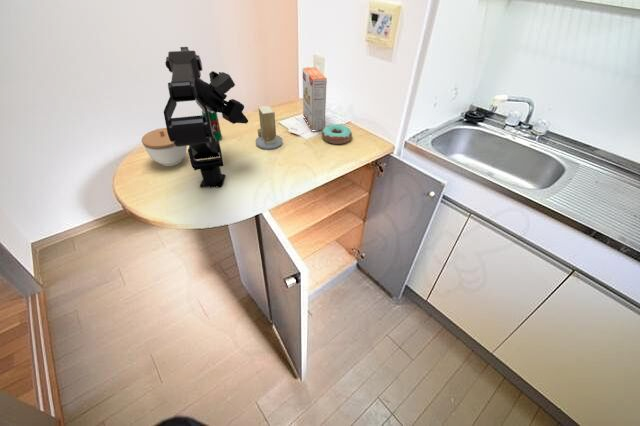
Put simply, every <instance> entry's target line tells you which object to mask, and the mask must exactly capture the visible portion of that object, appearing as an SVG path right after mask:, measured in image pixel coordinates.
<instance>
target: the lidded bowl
mask: <svg viewBox="0 0 640 426" xmlns="http://www.w3.org/2000/svg"><path fill="white" fill-rule="evenodd" d="M141 143H142V145H143V146H144V149H145V151H146V153H147V154H148V156H149V157H150V159H152V160H153V161H154V162H156V163H158V164H159V165H161V166H163V167H175V166H177V165H180V164H181V163H182V162H183V160H184V158H185V157H186V154H187V152H188V149H187V146H181V147H177V146H175V144H174V142H171V141H170V139H169V136H168V133H167V128H166V127H162V128H156V129H154V130H151V131H149V132H147V133H145V134H144V135H143V136H142V138H141Z"/></svg>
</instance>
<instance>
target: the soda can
mask: <svg viewBox="0 0 640 426" xmlns="http://www.w3.org/2000/svg"><path fill="white" fill-rule="evenodd" d="M207 110H208V109H207ZM208 113H209V116H210V121H211V126H212V132H213V134H214V135H215V138H216V140H217V141H219V142H220V141H221V139H222V138H223V136H222V130H221V127H220V122H219V118H218V117H219V116H218V112H217V113H215V112H214V111H210V110H208ZM201 115H204V116H206V114H205V112H204V111H203V110H202V109H201Z"/></svg>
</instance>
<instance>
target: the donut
mask: <svg viewBox="0 0 640 426" xmlns="http://www.w3.org/2000/svg"><path fill="white" fill-rule="evenodd" d="M352 136H353V134H352V131H351V129H350V128H349V126H347V125H343V124H338V123H335V124H332V123H331V124H328V125H325V127H324V129H323V130H322V131H321V137H322V139H323V140H324V141H326V142H327V143H328V144H329V143H330V144H333V145H342V144H345V143H348V142H349V141H350V140H351V139H352Z"/></svg>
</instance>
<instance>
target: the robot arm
mask: <svg viewBox="0 0 640 426" xmlns="http://www.w3.org/2000/svg"><path fill="white" fill-rule="evenodd" d="M179 48H180V50H177V51H176V50H170V51H168V53H167V56H166V58H165V62H164V64H165V66H166V68H167V69H168V71H169V72H170V73H171V74H172V75H171V81H170V82H168V83H167V89H168V94H169V98H168V100H167V103H166V105H165V107H164V110H163V116H164V121H165V128H167V133H168V136H169V139H170V141H171V142H174V144H175V146H177V147H181V146H188V149H187V152H188V156H189V157H188V159H189V161H190V165H191V168H192V169H193V170H194V171H198V170H200V174H201V178H202V180H201V182H200V185H199V186H200V188H222V186H223V184H224V182H225V179H226V178H227V177H226V176H227V175H226V173H222V170H221V167H223V168H224V158H223V154H222V149H221V143H220V140H219V141H217V140H216V138H215V135H214V134H213V132H212V126H211V121H210V116H209V113H208V110H210V111H214V112H215V113H217V114H219V113H221V116H222V119H224V120H226V121H228V122H229V123H231V124H233V125H235V124H246V125H247V124H248V123H249V119H248V118H247V116H246V115H245V113H244V112H243V111H244V109H245V105H244V104H243V103H241V102H240V101H238V100H236V99H234V98H232V99H228V100H226V98H227V97H228V95H227V94H226V93H228V91H229V92H230V90H231V89H232V88H234V87H235V86H236V84H235V82H234V80H233V79H232V77H231V75H230V74H229V73H226V72H223V71H222V72H220V71H219V72H216V71H214V70H212V71H210V72H209V73H208V75H209V83H208V82H206V81H204V80H203V79H202V78H201V74H202V73H201V71H203V63H202V60H201V59H202V58H201V57H200V55H199V54H198V55H197V53H196V51H195V50H189V47H188V46H180V47H179ZM193 101H194V102H195V103H196V104H197V106H198V107H199V108H200V109H201V111H202V110H203V111H204V112H205V114H206V116H204V115H202V114H201V115H192V116H191V115H190V116H181V117H172V116H173V114H174V112H175V110H176V108H177V103H180V102H182V103H183V102H193ZM207 109H208V110H207Z"/></svg>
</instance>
